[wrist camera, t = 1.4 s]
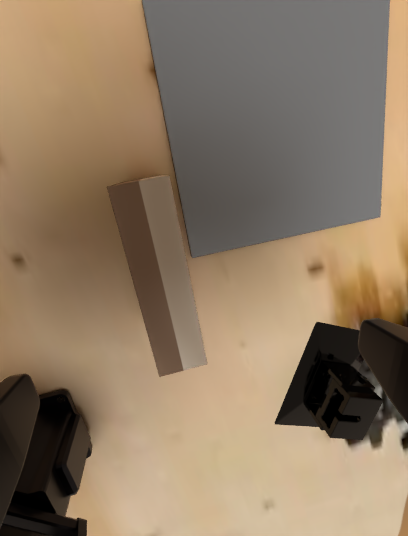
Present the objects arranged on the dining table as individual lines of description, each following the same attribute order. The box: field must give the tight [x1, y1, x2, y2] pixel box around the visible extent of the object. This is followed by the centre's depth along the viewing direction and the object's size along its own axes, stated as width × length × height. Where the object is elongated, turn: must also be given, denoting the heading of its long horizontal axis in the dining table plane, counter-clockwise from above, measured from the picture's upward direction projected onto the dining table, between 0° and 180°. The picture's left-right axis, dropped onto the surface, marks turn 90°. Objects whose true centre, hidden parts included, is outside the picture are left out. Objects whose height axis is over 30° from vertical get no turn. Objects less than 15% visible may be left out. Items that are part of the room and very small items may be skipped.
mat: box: [142, 0, 390, 258], centre depth 18 cm, size 14×14×1 cm
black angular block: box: [275, 322, 383, 440], centre depth 23 cm, size 13×8×5 cm, turn 164°
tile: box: [107, 175, 207, 377], centre depth 16 cm, size 2×9×7 cm, turn 10°
